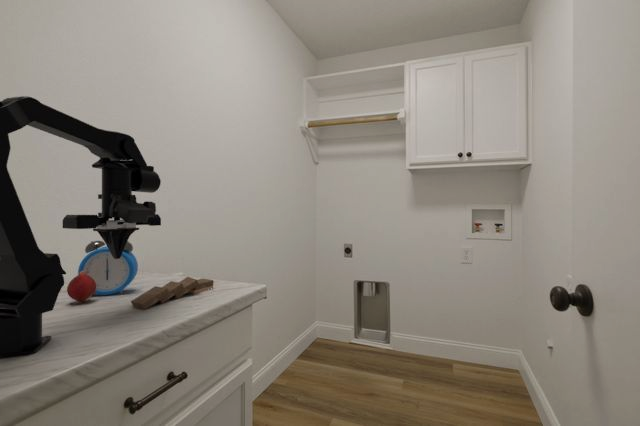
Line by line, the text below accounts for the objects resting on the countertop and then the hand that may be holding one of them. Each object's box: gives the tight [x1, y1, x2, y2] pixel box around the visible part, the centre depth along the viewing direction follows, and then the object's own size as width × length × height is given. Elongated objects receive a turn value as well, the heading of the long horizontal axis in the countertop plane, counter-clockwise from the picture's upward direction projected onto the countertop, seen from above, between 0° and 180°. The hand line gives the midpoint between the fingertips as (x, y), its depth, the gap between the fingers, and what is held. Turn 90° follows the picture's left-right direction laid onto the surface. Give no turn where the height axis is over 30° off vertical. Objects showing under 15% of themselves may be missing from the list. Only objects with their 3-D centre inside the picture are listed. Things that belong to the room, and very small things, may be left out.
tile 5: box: [187, 285, 214, 294], centre depth 91 cm, size 2×5×7 cm
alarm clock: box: [77, 240, 139, 297], centre depth 87 cm, size 13×6×15 cm, turn 110°
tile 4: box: [191, 278, 214, 291], centre depth 91 cm, size 2×5×7 cm
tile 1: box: [130, 286, 169, 310], centre depth 77 cm, size 2×5×7 cm
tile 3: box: [171, 276, 199, 300], centre depth 85 cm, size 2×5×7 cm
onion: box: [66, 271, 96, 303], centre depth 78 cm, size 6×6×8 cm
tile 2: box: [156, 280, 184, 305], centre depth 81 cm, size 2×5×7 cm
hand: (116, 258), depth 70 cm, fingers closed
